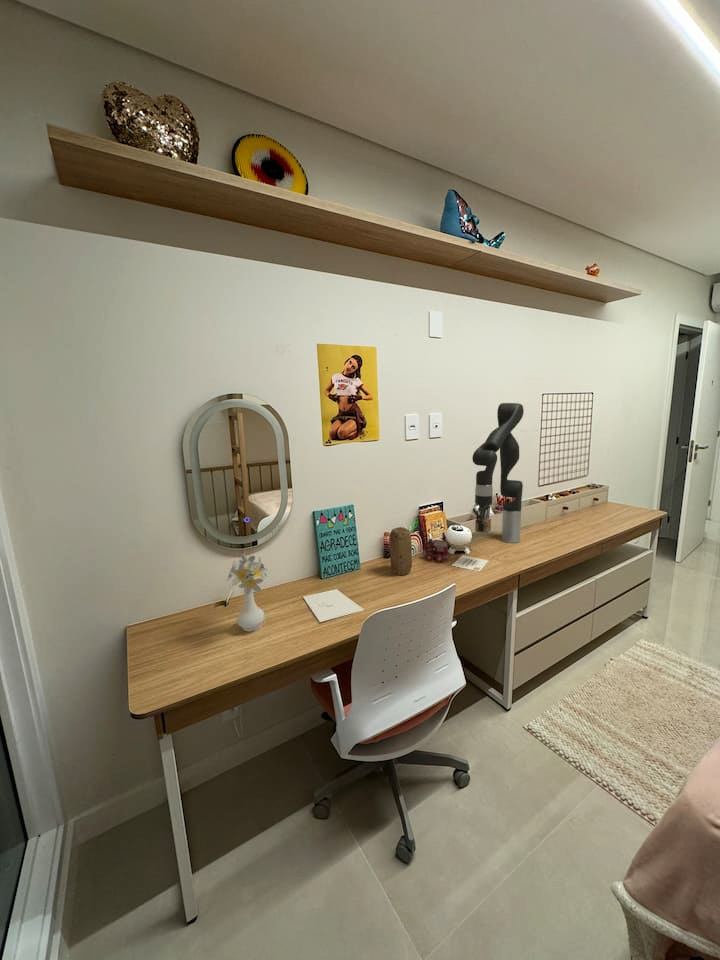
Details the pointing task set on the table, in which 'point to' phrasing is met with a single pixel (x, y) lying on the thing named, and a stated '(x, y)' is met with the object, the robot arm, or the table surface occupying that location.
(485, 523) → the cube
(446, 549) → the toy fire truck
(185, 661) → the table surface
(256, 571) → the flower vase
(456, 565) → the letter
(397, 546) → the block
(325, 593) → the paper sheet
